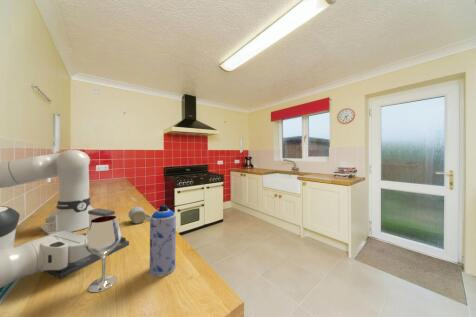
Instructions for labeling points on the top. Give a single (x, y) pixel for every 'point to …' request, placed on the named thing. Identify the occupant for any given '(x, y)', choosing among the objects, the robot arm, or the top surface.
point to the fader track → (83, 262)
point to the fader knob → (99, 213)
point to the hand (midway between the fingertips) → (96, 233)
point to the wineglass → (102, 246)
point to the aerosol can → (162, 242)
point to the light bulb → (138, 215)
